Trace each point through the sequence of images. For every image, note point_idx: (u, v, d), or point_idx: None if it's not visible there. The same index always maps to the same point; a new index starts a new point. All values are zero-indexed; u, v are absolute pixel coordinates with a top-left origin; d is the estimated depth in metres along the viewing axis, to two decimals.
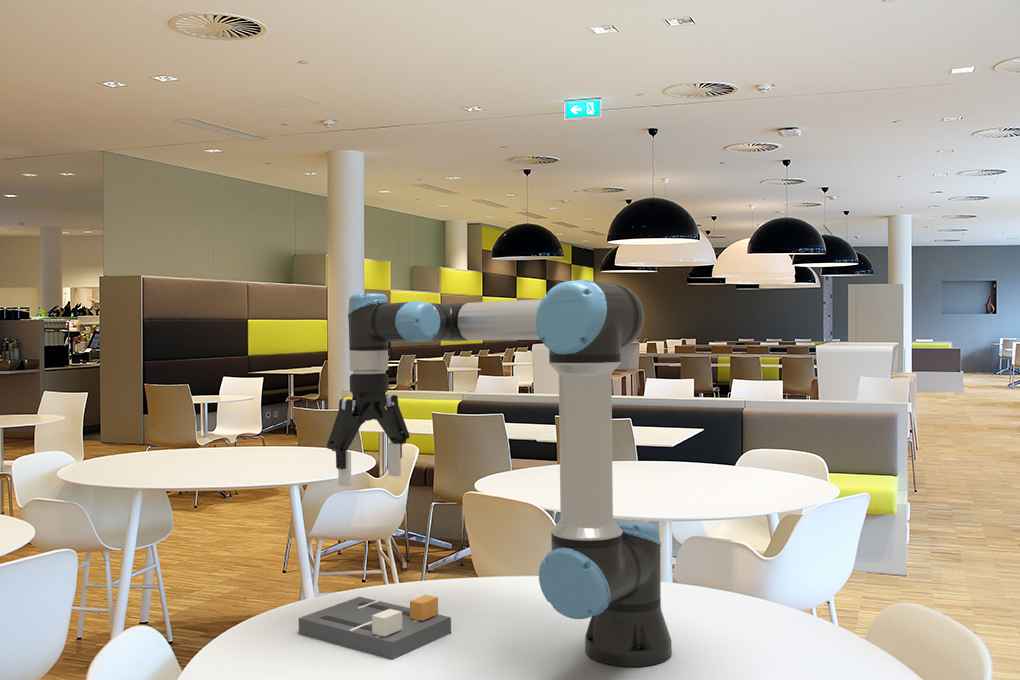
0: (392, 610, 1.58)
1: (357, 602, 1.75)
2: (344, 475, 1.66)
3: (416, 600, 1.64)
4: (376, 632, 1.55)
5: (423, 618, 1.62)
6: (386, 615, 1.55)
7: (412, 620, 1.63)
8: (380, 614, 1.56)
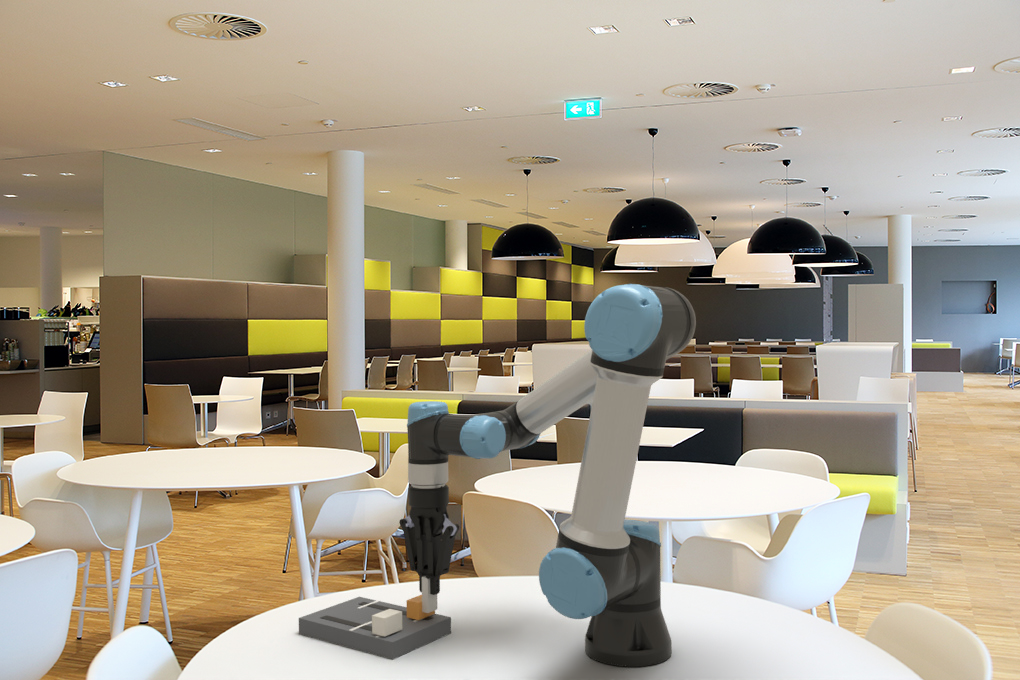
0: (392, 610, 1.58)
1: (357, 602, 1.75)
2: None
3: (413, 599, 1.64)
4: (376, 632, 1.55)
5: (420, 617, 1.63)
6: (386, 615, 1.55)
7: (412, 620, 1.63)
8: (380, 614, 1.56)
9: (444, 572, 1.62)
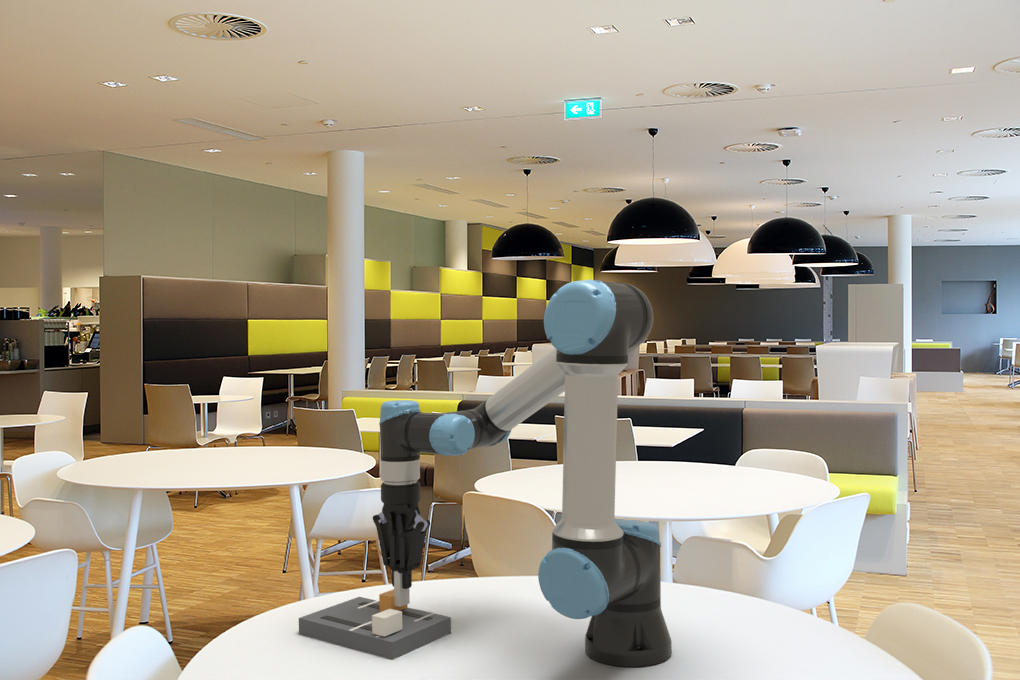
0: (392, 610, 1.58)
1: (357, 602, 1.75)
2: None
3: (385, 593, 1.68)
4: (376, 632, 1.55)
5: None
6: (386, 615, 1.55)
7: (412, 620, 1.63)
8: (380, 614, 1.56)
9: (415, 567, 1.66)
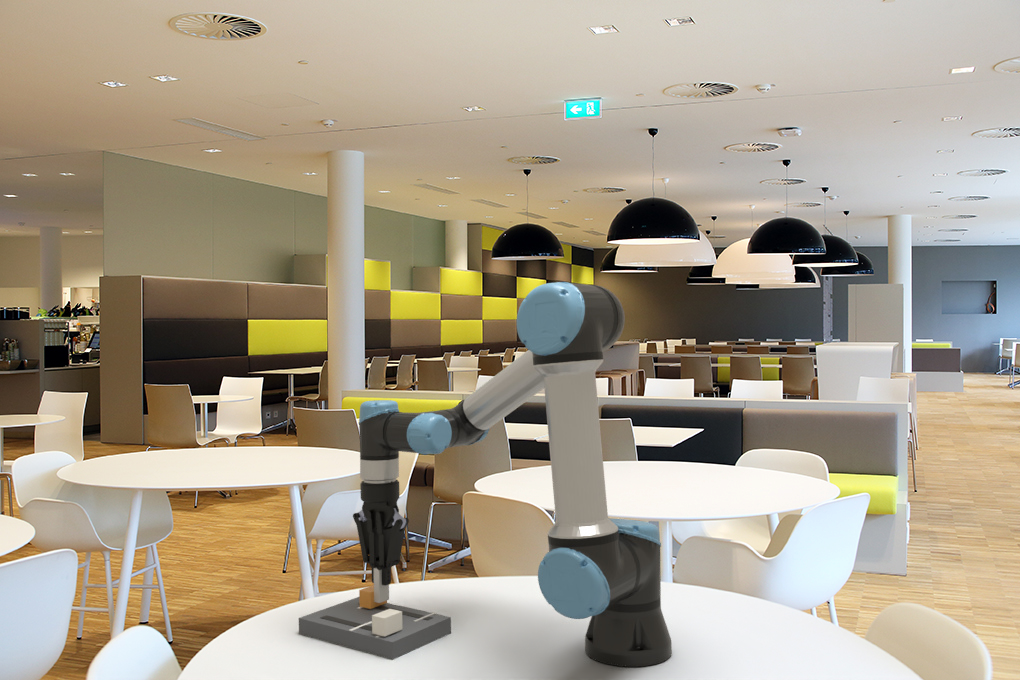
0: (392, 610, 1.58)
1: (357, 602, 1.75)
2: None
3: (365, 589, 1.71)
4: (376, 632, 1.55)
5: (372, 606, 1.70)
6: (386, 615, 1.55)
7: (412, 620, 1.63)
8: (380, 614, 1.56)
9: (394, 563, 1.69)
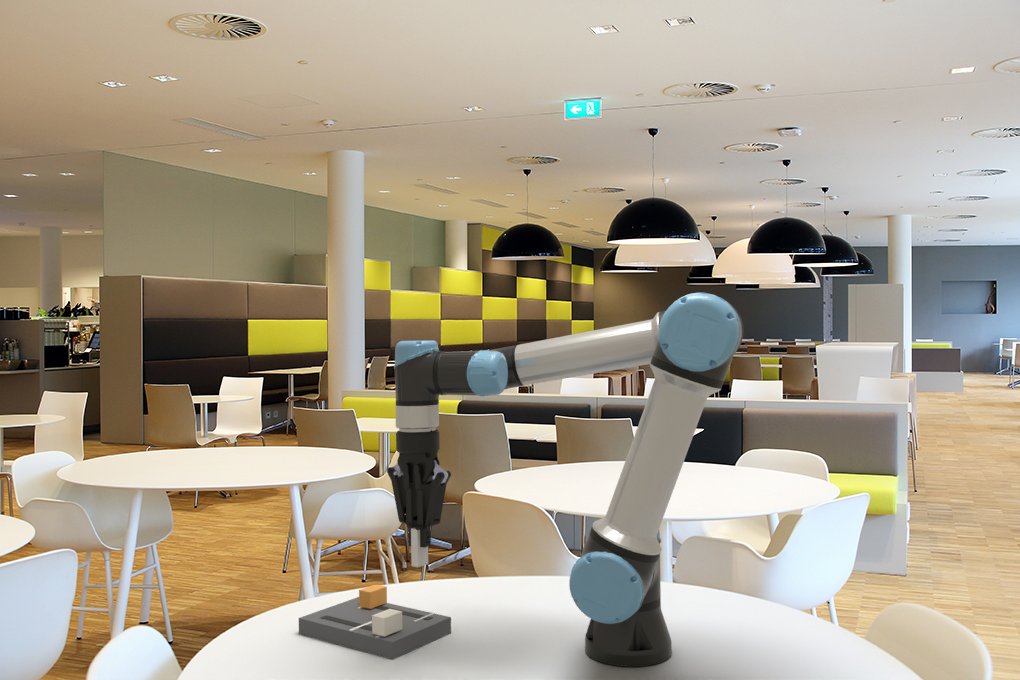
0: (392, 610, 1.58)
1: (357, 602, 1.75)
2: None
3: (365, 589, 1.71)
4: (376, 632, 1.55)
5: (371, 606, 1.70)
6: (386, 615, 1.55)
7: (412, 620, 1.63)
8: (380, 614, 1.56)
9: (435, 523, 1.50)
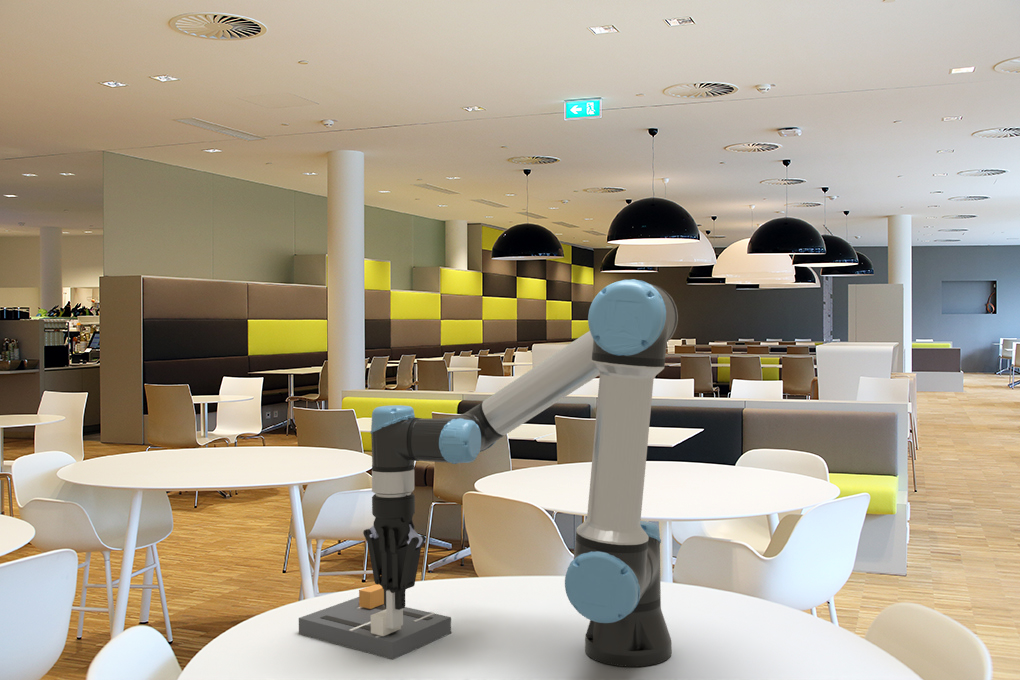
0: None
1: (357, 602, 1.75)
2: None
3: (365, 589, 1.71)
4: (375, 632, 1.55)
5: (371, 606, 1.70)
6: (384, 615, 1.55)
7: (412, 620, 1.63)
8: (379, 614, 1.56)
9: (409, 586, 1.53)
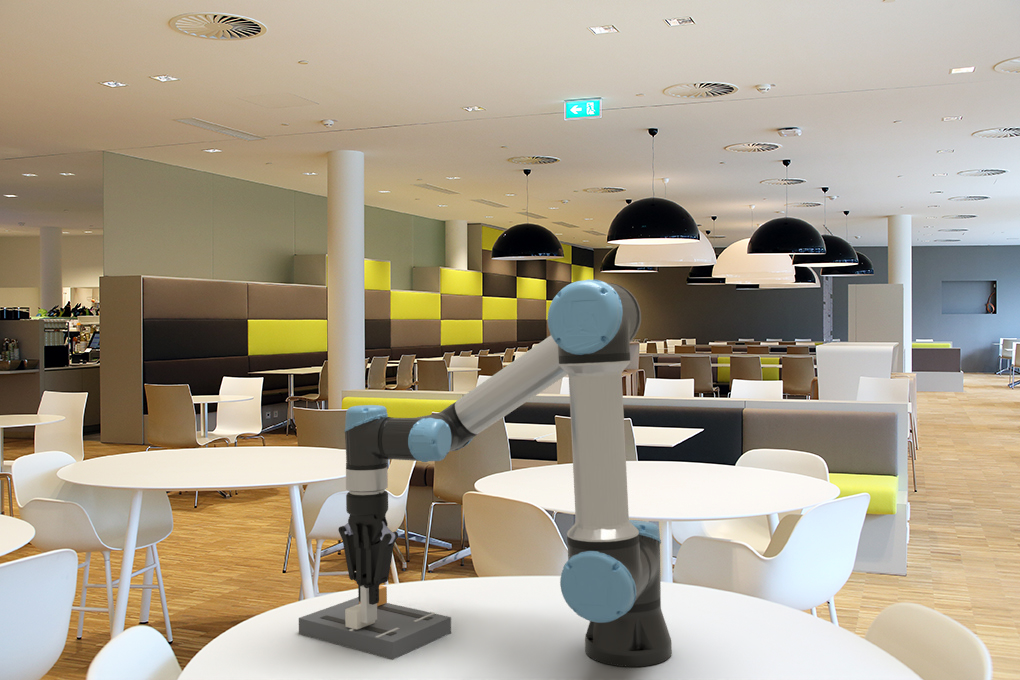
0: None
1: (357, 602, 1.75)
2: None
3: None
4: (349, 625, 1.59)
5: None
6: (359, 609, 1.59)
7: (412, 620, 1.63)
8: (353, 608, 1.60)
9: (383, 581, 1.57)
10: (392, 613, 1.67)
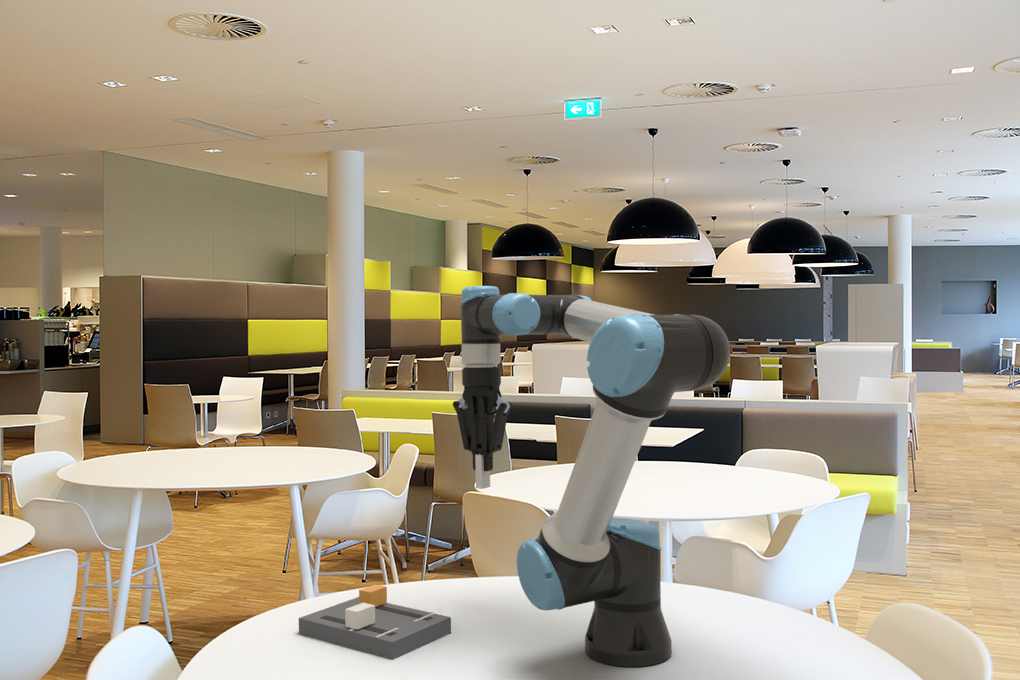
0: (365, 604, 1.62)
1: (357, 602, 1.75)
2: None
3: (365, 589, 1.71)
4: (349, 625, 1.59)
5: None
6: (359, 609, 1.59)
7: (412, 620, 1.63)
8: (353, 608, 1.60)
9: (497, 449, 1.68)
10: (392, 613, 1.67)
